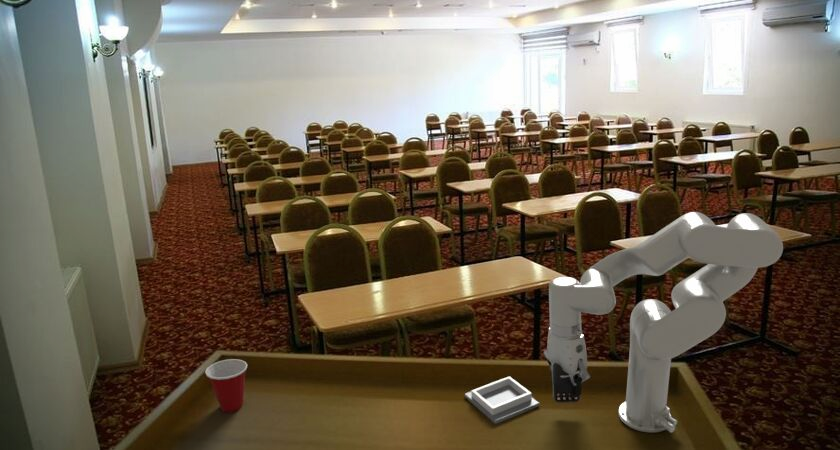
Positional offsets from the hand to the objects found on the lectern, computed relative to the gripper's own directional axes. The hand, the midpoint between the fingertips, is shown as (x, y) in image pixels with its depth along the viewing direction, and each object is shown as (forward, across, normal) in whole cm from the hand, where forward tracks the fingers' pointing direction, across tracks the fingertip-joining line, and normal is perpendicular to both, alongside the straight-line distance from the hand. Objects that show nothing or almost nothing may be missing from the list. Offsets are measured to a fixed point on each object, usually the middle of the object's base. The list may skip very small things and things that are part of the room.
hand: (566, 389), depth 158 cm
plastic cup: (+3, +51, +73) cm, 89 cm away
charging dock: (+6, +13, +11) cm, 18 cm away
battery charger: (+3, 0, 0) cm, 3 cm away
